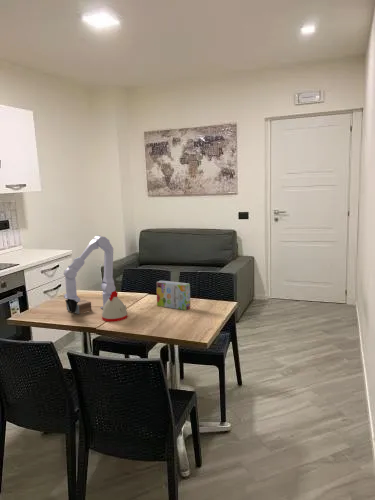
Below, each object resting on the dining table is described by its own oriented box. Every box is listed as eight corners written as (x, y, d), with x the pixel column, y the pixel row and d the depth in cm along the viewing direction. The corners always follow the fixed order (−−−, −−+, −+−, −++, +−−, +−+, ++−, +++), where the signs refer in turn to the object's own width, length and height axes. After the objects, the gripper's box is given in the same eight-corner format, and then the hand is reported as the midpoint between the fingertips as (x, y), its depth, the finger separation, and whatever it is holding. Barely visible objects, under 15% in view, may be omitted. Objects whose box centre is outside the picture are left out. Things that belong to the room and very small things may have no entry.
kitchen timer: (131, 314, 230) (130, 289, 228) (119, 322, 217) (117, 295, 215) (110, 313, 235) (108, 287, 232) (97, 320, 222) (95, 294, 220)
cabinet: (91, 310, 240) (90, 301, 240) (79, 313, 235) (78, 305, 234) (80, 306, 249) (80, 298, 248) (69, 310, 243) (68, 301, 242)
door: (66, 309, 243) (65, 300, 242) (68, 309, 243) (67, 300, 242) (77, 313, 234) (77, 304, 233) (79, 313, 235) (78, 304, 234)
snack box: (191, 308, 238) (190, 283, 236) (186, 310, 234) (185, 285, 231) (161, 303, 249) (160, 279, 247) (156, 306, 245) (155, 281, 242)
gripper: (58, 288, 234) (60, 310, 236) (71, 292, 224) (73, 315, 226) (69, 285, 239) (71, 308, 241) (82, 289, 229) (84, 312, 231)
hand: (72, 311), depth 234 cm, fingers closed on door
